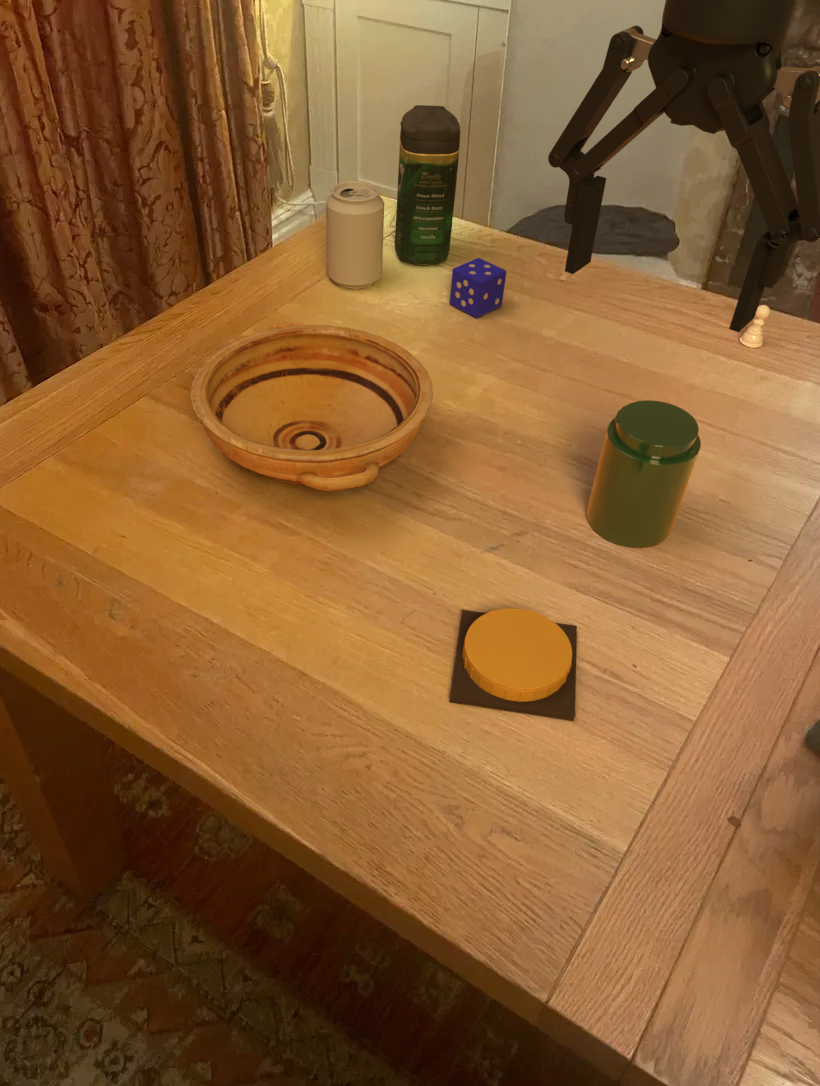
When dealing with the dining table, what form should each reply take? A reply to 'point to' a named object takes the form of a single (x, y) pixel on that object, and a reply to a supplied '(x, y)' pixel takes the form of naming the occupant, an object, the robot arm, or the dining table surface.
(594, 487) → the jar
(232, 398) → the ceramic bowl
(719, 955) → the dining table surface
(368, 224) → the can
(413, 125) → the coffee jar
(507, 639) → the jar lid
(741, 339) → the chess pawn
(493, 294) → the die
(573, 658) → the coaster
